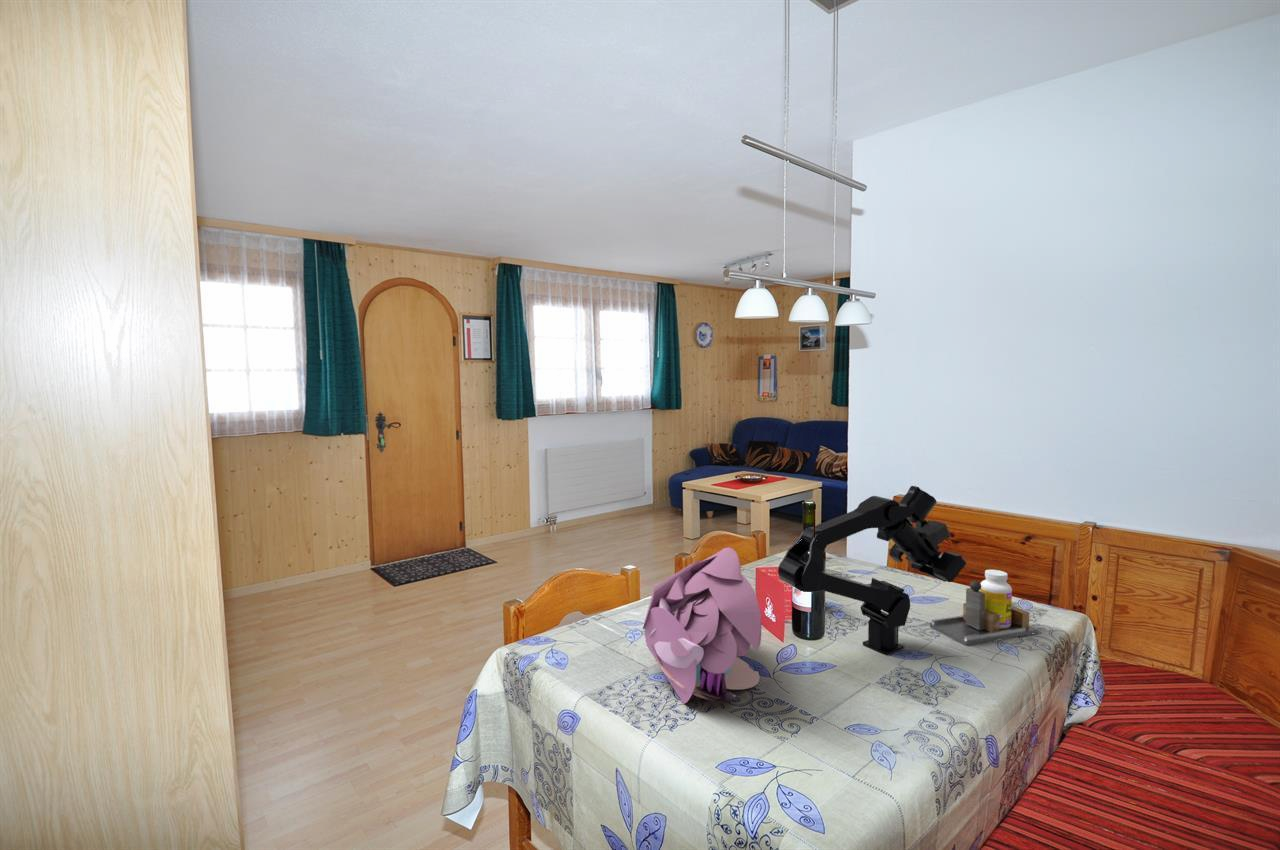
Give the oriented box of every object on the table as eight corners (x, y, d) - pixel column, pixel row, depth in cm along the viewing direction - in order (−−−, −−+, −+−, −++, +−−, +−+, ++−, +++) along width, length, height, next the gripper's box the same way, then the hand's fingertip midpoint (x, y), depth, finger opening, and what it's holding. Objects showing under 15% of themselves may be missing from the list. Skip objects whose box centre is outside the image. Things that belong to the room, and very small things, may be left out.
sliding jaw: (985, 634, 137) (986, 587, 136) (956, 620, 145) (957, 576, 144) (999, 631, 138) (1000, 585, 137) (969, 618, 146) (970, 574, 145)
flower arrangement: (793, 727, 112) (827, 584, 110) (687, 735, 102) (722, 579, 100) (701, 639, 143) (726, 527, 141) (613, 638, 133) (639, 518, 131)
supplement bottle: (1009, 632, 138) (1011, 578, 138) (977, 625, 142) (978, 573, 141) (1012, 622, 144) (1013, 571, 143) (981, 616, 148) (982, 566, 147)
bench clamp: (965, 645, 134) (965, 624, 134) (929, 626, 144) (929, 607, 144) (1037, 633, 140) (1038, 613, 139) (997, 616, 150) (998, 597, 150)
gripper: (960, 519, 127) (999, 565, 130) (899, 503, 145) (936, 544, 148) (929, 559, 125) (970, 603, 129) (872, 538, 143) (909, 577, 147)
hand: (945, 579), depth 138 cm, fingers closed
